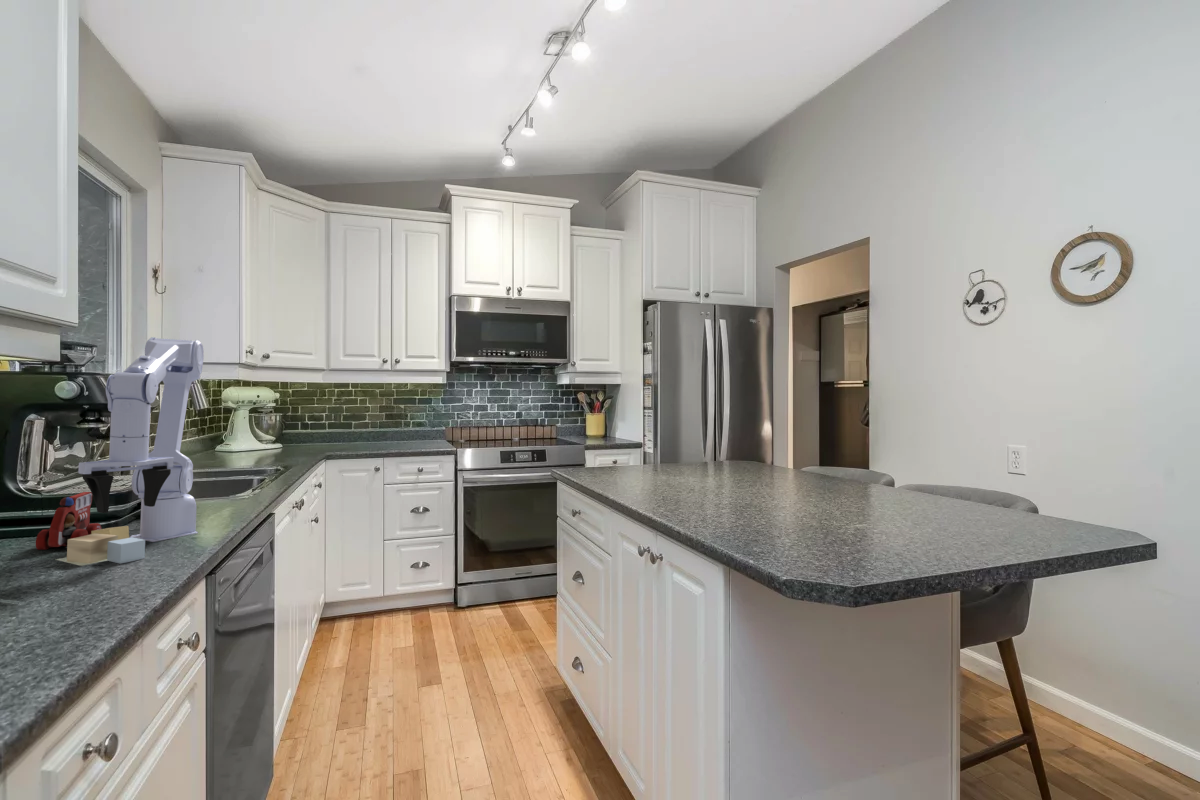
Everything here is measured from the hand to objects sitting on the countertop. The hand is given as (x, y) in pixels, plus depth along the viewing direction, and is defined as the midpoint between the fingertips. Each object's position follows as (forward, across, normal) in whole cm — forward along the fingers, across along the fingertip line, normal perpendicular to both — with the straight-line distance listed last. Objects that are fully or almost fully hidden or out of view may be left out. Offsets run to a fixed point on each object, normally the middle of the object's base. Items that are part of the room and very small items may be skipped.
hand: (126, 509), depth 108 cm
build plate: (+10, -1, +6) cm, 12 cm away
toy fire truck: (+10, +1, +20) cm, 23 cm away
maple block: (+10, -2, +5) cm, 11 cm away
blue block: (+10, 0, 0) cm, 10 cm away
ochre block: (+10, +3, +10) cm, 14 cm away
